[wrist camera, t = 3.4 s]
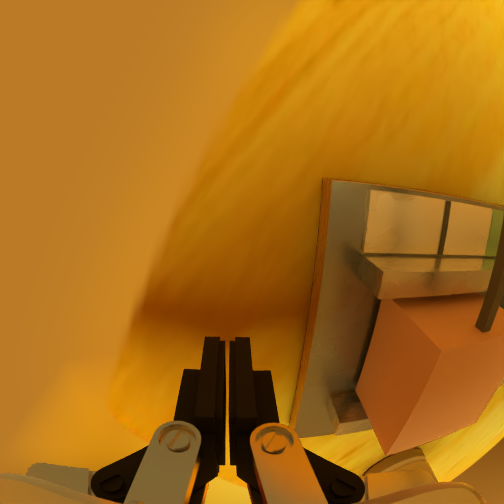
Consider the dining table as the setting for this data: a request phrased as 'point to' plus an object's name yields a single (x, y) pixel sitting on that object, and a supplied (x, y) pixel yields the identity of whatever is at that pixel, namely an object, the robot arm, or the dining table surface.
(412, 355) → the plunger
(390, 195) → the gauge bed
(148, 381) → the dining table surface
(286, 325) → the dining table surface
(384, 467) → the travel mug
